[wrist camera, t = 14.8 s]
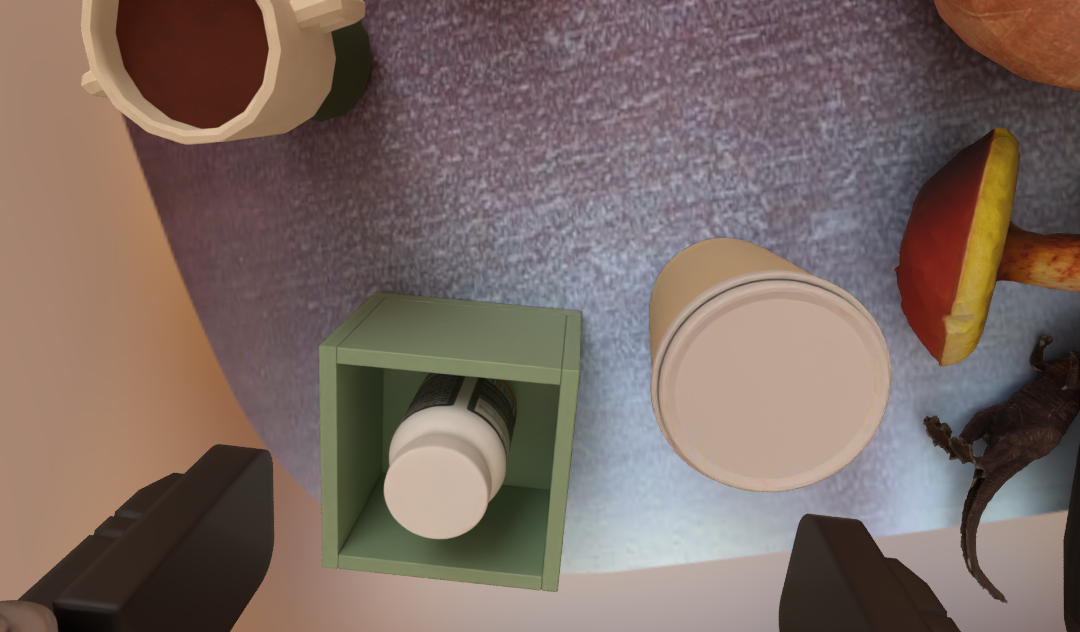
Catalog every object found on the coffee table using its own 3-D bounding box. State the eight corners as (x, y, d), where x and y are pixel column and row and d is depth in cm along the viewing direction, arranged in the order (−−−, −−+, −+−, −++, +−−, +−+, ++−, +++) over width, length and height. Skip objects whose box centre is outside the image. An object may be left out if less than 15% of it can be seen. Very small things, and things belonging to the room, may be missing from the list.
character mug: (391, -52, 35) (284, -131, 23) (438, 94, 37) (363, 95, 25) (192, 18, 37) (-9, -20, 24) (247, 155, 38) (87, 185, 26)
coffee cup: (609, 354, 41) (618, 457, 29) (671, 196, 38) (708, 243, 26) (764, 406, 41) (833, 528, 30) (836, 254, 38) (944, 324, 27)
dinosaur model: (1124, 296, 38) (1126, 524, 43) (911, 358, 39) (937, 578, 43) (1195, 320, 35) (1188, 567, 39) (958, 389, 35) (980, 626, 40)
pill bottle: (417, 441, 42) (369, 544, 32) (421, 349, 40) (371, 429, 31) (515, 452, 42) (494, 558, 32) (523, 360, 40) (503, 443, 30)
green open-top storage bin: (373, 474, 44) (321, 567, 35) (375, 291, 40) (318, 345, 32) (563, 493, 43) (557, 592, 35) (581, 310, 40) (580, 370, 31)
